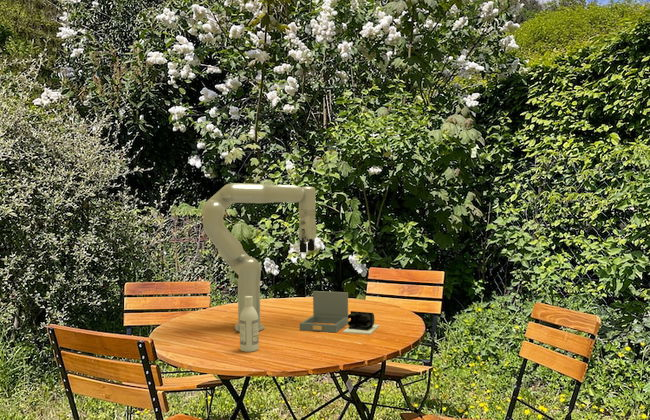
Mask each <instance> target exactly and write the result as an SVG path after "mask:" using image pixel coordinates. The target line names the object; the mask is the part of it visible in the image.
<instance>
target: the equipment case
mask: <svg viewBox="0 0 650 420" xmlns="http://www.w3.org/2000/svg"><path fill="white" fill-rule="evenodd" d="M312 299H313V300H312V304H313V305H312V307H313V308H312V309H313V310H312V311H313V314H312V315H311V316H309V317H308V318H307V319H304V320H303V321H301V322H300V323H299V331H304V332H305V331H307V332H320V333H321V332H322V333H337V332H339V331H340V330H341V329H343V328H344V327H346V326H347V325H348V321H349V319H348V315H349V292H348V291H347V292H346V291H345V292H344V291H343V292H342V291H326V290H325V291H324V290H323V291H319V290H313V291H312ZM332 323H333V324H332Z"/></svg>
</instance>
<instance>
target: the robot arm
mask: <svg viewBox="0 0 650 420" xmlns="http://www.w3.org/2000/svg"><path fill="white" fill-rule="evenodd" d="M234 203H235V204H243V203H244V204H268V203H269V204H271V203H292V204H293V203H295V204H296V203H298V217H299V226H298V228H299V229H298V241H299V243H298V244H299V253H303V254H304V253H305V254H306V253H307V252H315V248H316V247H315V246H316V244H315V241H316V238H317V225H316V188H315V187H314V186H301V187H300V186H298V185H293V184H291V185H290V184H287V185H285V184H269V183H268V184H266V183H245V182H243V183H242V182H241V183H240V182H237V183H236V182H233V183H232V182H231V183H227V184H225V185H224V186H223V187H221V188H220V189H219V190H218V191H216V193H215V194H213V196H210V198H209V199H207V200H206V201H205V202H204V203H203V205H202V207H201V215H202V226H203V227H202V228H203V231H204V232H205V235H206V236H207V238H208V239H209V240H210V241H211V243H212V244H213V246H215V247H216V248H217V252H218V255H219V256H220V258H221V259H222V260H224V262H225V263H226V264H227V265H228V266H229V267H230V269H232V271H233V272H234V273H235V274H237V275H238V282H237V313H238V314H237V315H238V317H237V318H238V319H237V320H238V321H237V324H235V325H234V331H236V332H239V333H240V314H241V312H242V310H243V308H244V307H245V296H252V297H253V307H254V309H255V310H256V312H257V314H258V332H260V331H263V330H264V329H265V326H264V324H262V323H261V290H260V289H261V273H262V269H261V264H260V262H259V260H257V259H256V258H255V257H252V256H250V255H249V254H248V253H247V252H246V251H245V249H244V248H243V244H242V243H241V242H240V241H239V240H238V239H237V238H236V237H235V236H234V235H233V234H232V233H231V232H230V230H229V229H228V228H227V227H226V226H225V224H224V215H225V211H226V210H228V208H229V207H231V206H232V205H233V204H234Z"/></svg>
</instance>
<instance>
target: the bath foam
mask: <svg viewBox="0 0 650 420" xmlns="http://www.w3.org/2000/svg"><path fill="white" fill-rule="evenodd" d="M259 332H260V331H258V314H257V312H256V310H255V309H254V307H253V297H252V296H245V307H244V308H243V310H242V312H241V314H240V332H239V349H240V351H242V352H244V353H247V352H248V353H249V352H250V353H253V352H256V351H258V350H259V348H260V347H259V346H260V344H259V342H260V341H259Z"/></svg>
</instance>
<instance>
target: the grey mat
mask: <svg viewBox="0 0 650 420" xmlns="http://www.w3.org/2000/svg"><path fill="white" fill-rule="evenodd" d="M349 327H350V326H349V325H348V327H346V328H345V329H344V330H343V331H342V333H345V334H357V335H370V336H371V335H372V334H373V333H374V332H375V331H376V330H377V329H379V327H380V324H375V323H374V325H373V327H372V328H371V329H370V330H357V329H349Z"/></svg>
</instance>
